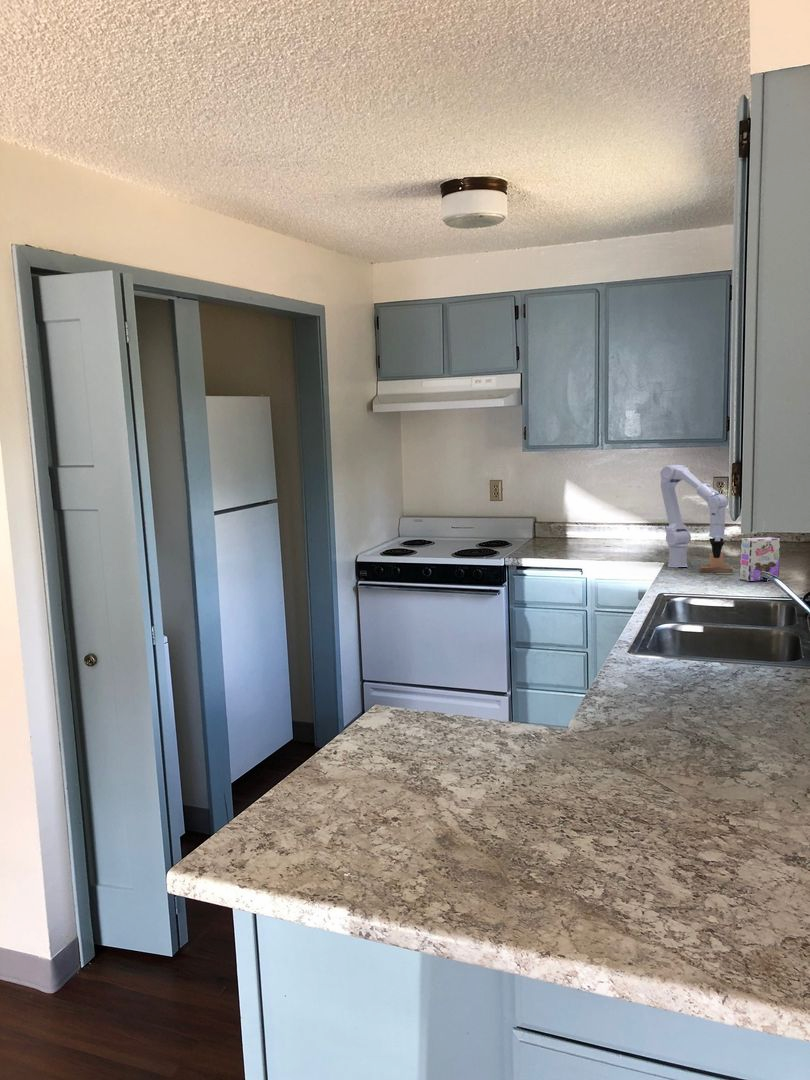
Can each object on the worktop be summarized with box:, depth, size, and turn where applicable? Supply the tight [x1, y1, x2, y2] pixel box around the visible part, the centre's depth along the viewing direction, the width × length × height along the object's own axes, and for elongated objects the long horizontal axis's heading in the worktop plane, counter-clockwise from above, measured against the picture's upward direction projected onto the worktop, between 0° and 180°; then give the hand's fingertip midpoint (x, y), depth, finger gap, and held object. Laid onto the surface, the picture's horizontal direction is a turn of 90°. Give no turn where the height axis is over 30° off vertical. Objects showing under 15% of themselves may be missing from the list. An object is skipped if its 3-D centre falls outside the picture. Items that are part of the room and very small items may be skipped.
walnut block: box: [699, 563, 733, 574], centre depth 345 cm, size 12×12×3 cm
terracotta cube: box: [708, 552, 724, 567], centre depth 345 cm, size 5×5×5 cm
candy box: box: [739, 536, 781, 582], centre depth 323 cm, size 14×6×16 cm, turn 105°
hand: (716, 556), depth 344 cm, fingers open, 7 cm apart
